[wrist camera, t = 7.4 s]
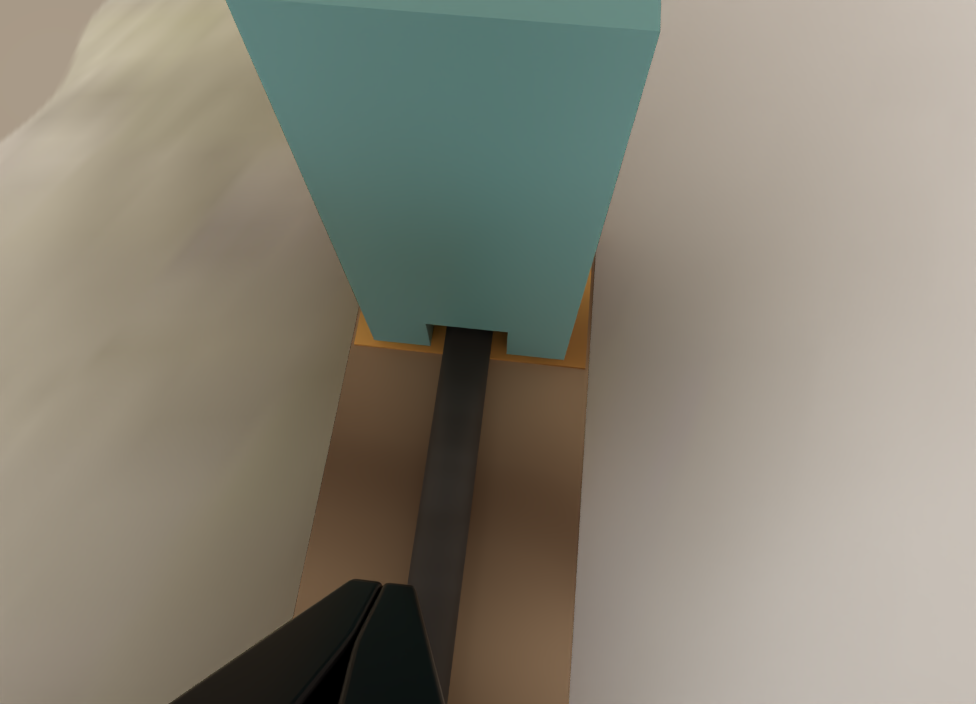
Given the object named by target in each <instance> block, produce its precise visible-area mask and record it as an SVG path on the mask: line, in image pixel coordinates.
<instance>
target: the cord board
mask: <svg viewBox="0 0 976 704" xmlns="http://www.w3.org/2000/svg"><path fill="white" fill-rule="evenodd" d="M595 254H596V252H595ZM594 271H595V256H594V259H593V262H592V266H591V269H590V273H589V276H588V279H587V283H586V286H585V290H584V293H583V297H582V300H581V303H580V307H579V310H578V314H577V317H576V320H575V324H574V327H573V331H572V334H571V337H570V341H569V344H568V348H567V351H566V355H565V358H564V360H559V359H549V358H540V357H530V356H521V355H511V354H506V353H507V336H508V332H500V331H490V330H481V329H471V328H461V327H452V326H442V325H434V328H433V334H432V341H431V346H426V345H416V344H407V343H397V342H388V341H378V340H374V338H373V336H372V334H371V331H370V329H369V327H368V324H367V322H366V320H365V318H364V315H363V313H362V311H361V308H360V306H359V310H358V314H357V319H356V324H355V328H354V333H353V338H352V342H351V347H350V352H349V356H348V361H347V366H346V371H345V375H344V380H343V385H342V389H341V394H340V399H339V403H338V408H337V413H336V417H335V422H334V427H333V432H332V436H331V441H330V446H329V450H328V455H327V460H326V464H325V469H324V474H323V478H322V483H321V488H320V493H319V497H318V502H317V507H316V511H315V516H314V521H313V525H312V530H311V535H310V539H309V544H308V549H307V554H306V558H305V563H304V568H303V572H302V577H301V582H300V586H299V591H298V596H297V600H296V605H295V610H294V615H293V618H295V617H296V616H298V615H299V614H301V613H302V612H304V611H305V610H306V609H308V608H309V607H311V606H312V605H314V604H315V603H317V602H318V601H320V600H321V599H323V598H324V597H326V596H327V595H328V594H330V593H331V592H333V591H334V590H336V589H337V588H339V587H340V586H342V585H343V584H345V583H346V582H347V581H349V580H352V579H363V580H371V581H378V582H380V583H381V584H382V586H383V585H384V584H386V583H397V584H406V585H412V586H413V587H414V588H415V589H416V592H417V596H418V600H419V604H420V608H421V612H422V616H423V620H424V624H425V628H426V631H427V635H428V639H429V643H430V647H431V651H432V655H433V659H434V663H435V667H436V670H437V674H438V678H439V682H440V686H441V690H442V694H443V698H444V702H445V704H569V689H570V673H571V656H572V639H573V622H574V606H575V589H576V572H577V555H578V539H579V522H580V505H581V488H582V472H583V455H584V438H585V421H586V405H587V388H588V371H589V354H590V338H591V321H592V304H593V287H594Z"/></svg>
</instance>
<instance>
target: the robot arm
mask: <svg viewBox="0 0 976 704" xmlns="http://www.w3.org/2000/svg"><path fill="white" fill-rule="evenodd" d="M169 704H445V702H444V698H443V694H442V690H441V686H440V682H439V678H438V674H437V670H436V667H435V663H434V659H433V655H432V651H431V647H430V643H429V639H428V635H427V631H426V628H425V624H424V620H423V616H422V612H421V608H420V604H419V600H418V596H417V592H416V589H415V588H414V587H413V586H412V585H406V584H397V583H386V584H384V585H383V586H382V584H381V583H380V582H378V581H371V580H363V579H352V580H349V581H347V582H346V583H345V584H343V585H342V586H340V587H339V588H337V589H336V590H334V591H333V592H331V593H330V594H328V595H327V596H326V597H324V598H323V599H321V600H320V601H318V602H317V603H315V604H314V605H312V606H311V607H309V608H308V609H306V610H305V611H304V612H302V613H301V614H299V615H298V616H296V617H295V618H293V619H292V620H290V621H289V622H287V623H286V624H285V625H283V626H282V627H280V628H279V629H277V630H276V631H274V632H273V633H271V634H270V635H268V636H267V637H265V638H264V639H263V640H261V641H260V642H258V643H257V644H255V645H254V646H252V647H251V648H249V649H248V650H246V651H245V652H244V653H242V654H241V655H239V656H238V657H236V658H235V659H233V660H232V661H230V662H229V663H227V664H226V665H224V666H223V667H222V668H220V669H219V670H217V671H216V672H214V673H213V674H211V675H210V676H208V677H207V678H205V679H204V680H203V681H201V682H200V683H198V684H197V685H195V686H194V687H192V688H191V689H189V690H188V691H186V692H185V693H183V694H182V695H181V696H179V697H178V698H176V699H175V700H173V701H172V702H170V703H169Z"/></svg>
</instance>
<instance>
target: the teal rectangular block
mask: <svg viewBox="0 0 976 704" xmlns="http://www.w3.org/2000/svg"><path fill="white" fill-rule="evenodd" d="M226 2H227V5H228V7H229V9H230V11H231V14H232V16H233V18H234V21H235V23H236V25H237V27H238V30H239V32H240V34H241V37H242V39H243V41H244V43H245V46H246V48H247V50H248V53H249V55H250V57H251V59H252V62H253V64H254V66H255V69H256V71H257V73H258V75H259V78H260V80H261V82H262V85H263V87H264V89H265V91H266V94H267V96H268V98H269V101H270V103H271V105H272V107H273V110H274V112H275V114H276V117H277V119H278V121H279V123H280V126H281V128H282V130H283V133H284V135H285V137H286V139H287V142H288V144H289V146H290V149H291V151H292V153H293V155H294V158H295V160H296V162H297V165H298V167H299V169H300V171H301V174H302V176H303V178H304V181H305V183H306V185H307V187H308V190H309V192H310V194H311V197H312V199H313V201H314V203H315V206H316V208H317V210H318V213H319V215H320V217H321V219H322V222H323V224H324V226H325V229H326V231H327V233H328V235H329V238H330V240H331V242H332V245H333V247H334V249H335V251H336V254H337V256H338V258H339V261H340V263H341V265H342V267H343V270H344V272H345V274H346V277H347V279H348V281H349V283H350V286H351V288H352V290H353V292H354V295H355V297H356V299H357V302H358V304H359V306H360V308H361V311H362V313H363V315H364V318H365V320H366V322H367V324H368V327H369V329H370V331H371V334H372V336H373V338H374V340H378V341H388V342H397V343H407V344H416V345H426V346H431V341H432V334H433V328H434V325H442V326H452V327H461V328H471V329H481V330H490V331H500V332H508V336H507V353H506V354H511V355H521V356H530V357H540V358H549V359H559V360H564V358H565V355H566V351H567V348H568V344H569V341H570V337H571V334H572V331H573V327H574V324H575V320H576V317H577V314H578V310H579V307H580V303H581V300H582V297H583V293H584V290H585V286H586V283H587V279H588V276H589V273H590V269H591V266H592V262H593V259H594V256H595V252H596V249H597V245H598V242H599V239H600V235H601V232H602V228H603V225H604V222H605V218H606V215H607V211H608V208H609V204H610V201H611V198H612V194H613V191H614V187H615V184H616V181H617V177H618V174H619V170H620V167H621V164H622V160H623V157H624V153H625V150H626V146H627V143H628V140H629V136H630V133H631V129H632V126H633V123H634V119H635V116H636V112H637V109H638V106H639V102H640V99H641V95H642V92H643V88H644V85H645V82H646V78H647V75H648V71H649V68H650V65H651V61H652V58H653V54H654V51H655V48H656V44H657V41H658V37H659V34H660V16H661V0H226Z"/></svg>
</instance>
